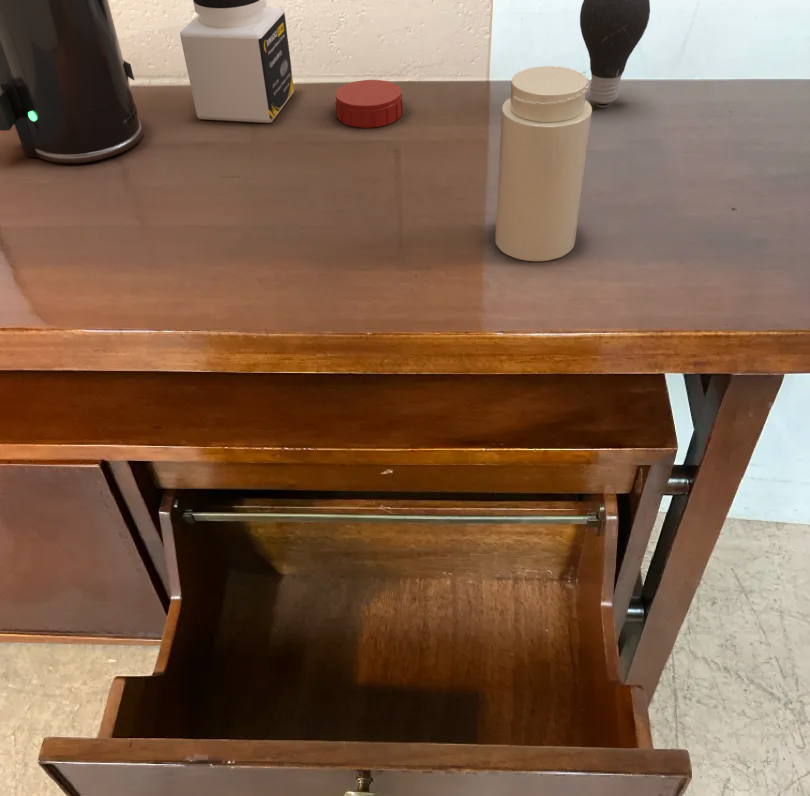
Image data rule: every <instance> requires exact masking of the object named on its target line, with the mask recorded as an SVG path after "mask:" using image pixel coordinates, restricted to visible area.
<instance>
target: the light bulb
mask: <svg viewBox="0 0 810 796" xmlns="http://www.w3.org/2000/svg"><path fill="white" fill-rule="evenodd" d="M581 3H582V4H581V6H580V7H581V8H580V12H579V13H580V14H579V26H580V27H579V28H580V32H581V36H582V39H583V41H584V44H585V47H586V50H587V52H588V56H589V69H590V73H591V79H590V84H589V93H590V94H589V98H590V99H591V100H592V101H593V102H594V103H596V106H597V107H598V108H606V107H608V106H609V104H611V103H613V102H614V101H615V100H617V98H618V95H619V93H620V92H619V91H620V85H621V79H622V76H623V73H624V71H625V69H626V67H627V62H628V60H629V58H630V56H631V55H632V52H633V51H634V50H635V48H636V46H637V45H638V44H639V42H640V41H641V39H642V37H643V36H644V34H645V31H646V29H647V27H648V24H649V21H650V14H651V3H650V0H583V1H582V2H581Z"/></svg>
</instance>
